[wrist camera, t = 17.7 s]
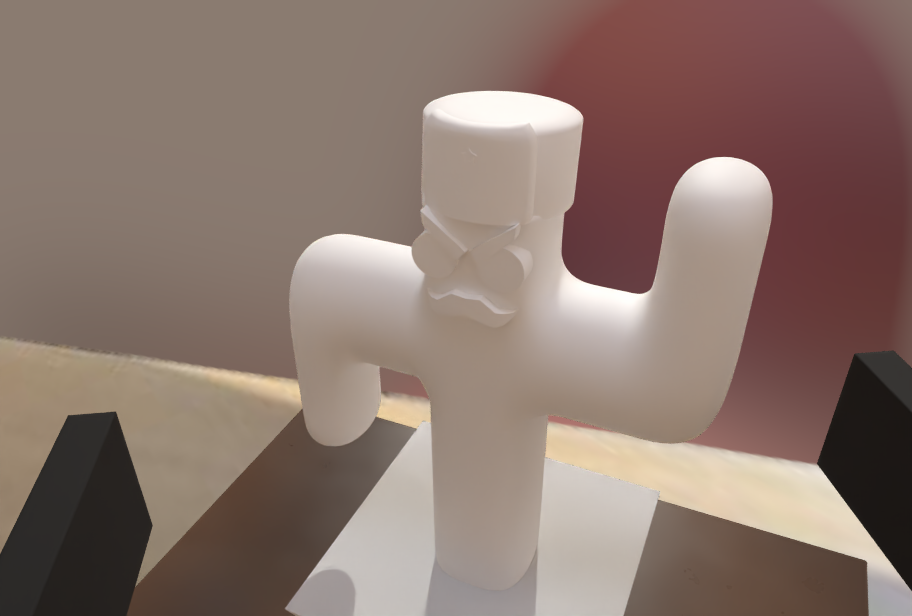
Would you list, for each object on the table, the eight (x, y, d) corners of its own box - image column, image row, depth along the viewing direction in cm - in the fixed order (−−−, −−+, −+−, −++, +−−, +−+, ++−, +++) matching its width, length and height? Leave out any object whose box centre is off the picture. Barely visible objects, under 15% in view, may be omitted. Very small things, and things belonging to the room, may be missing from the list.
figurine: (397, 494, 25) (365, 32, 17) (680, 591, 22) (804, 76, 14) (267, 681, 20) (133, 128, 12) (621, 848, 16) (770, 237, 8)
